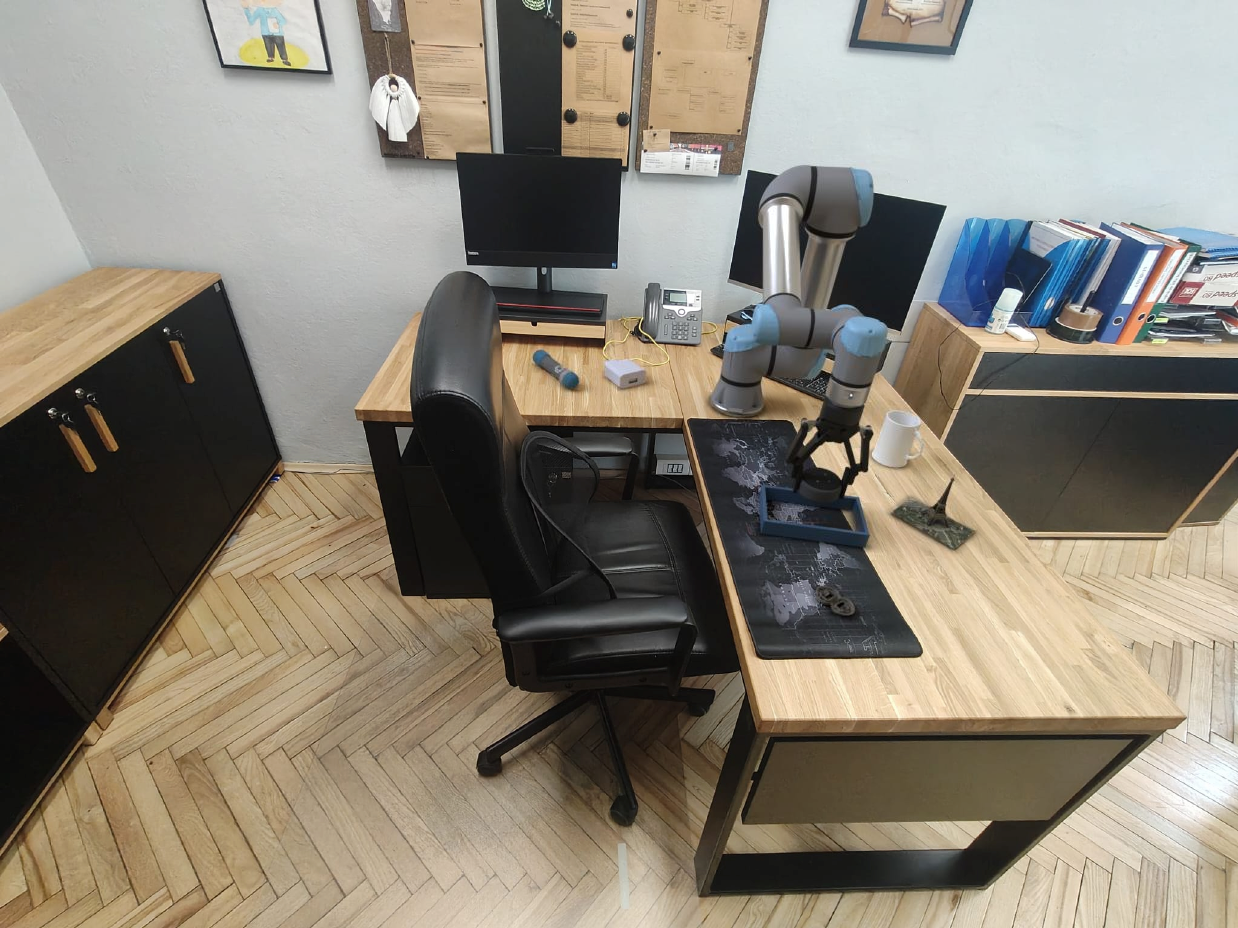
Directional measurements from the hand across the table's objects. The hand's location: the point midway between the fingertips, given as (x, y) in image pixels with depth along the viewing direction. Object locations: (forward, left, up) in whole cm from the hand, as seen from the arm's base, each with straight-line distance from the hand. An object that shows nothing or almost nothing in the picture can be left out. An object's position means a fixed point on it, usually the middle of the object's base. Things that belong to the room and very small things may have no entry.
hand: (817, 492), depth 126 cm
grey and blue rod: (-55, -71, -8) cm, 90 cm away
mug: (-29, +24, -8) cm, 38 cm away
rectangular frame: (0, 0, -8) cm, 8 cm away
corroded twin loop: (+24, +2, -8) cm, 26 cm away
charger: (-60, -52, -8) cm, 80 cm away
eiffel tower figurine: (-5, +27, -8) cm, 29 cm away
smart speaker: (0, 0, 0) cm, 0 cm away
